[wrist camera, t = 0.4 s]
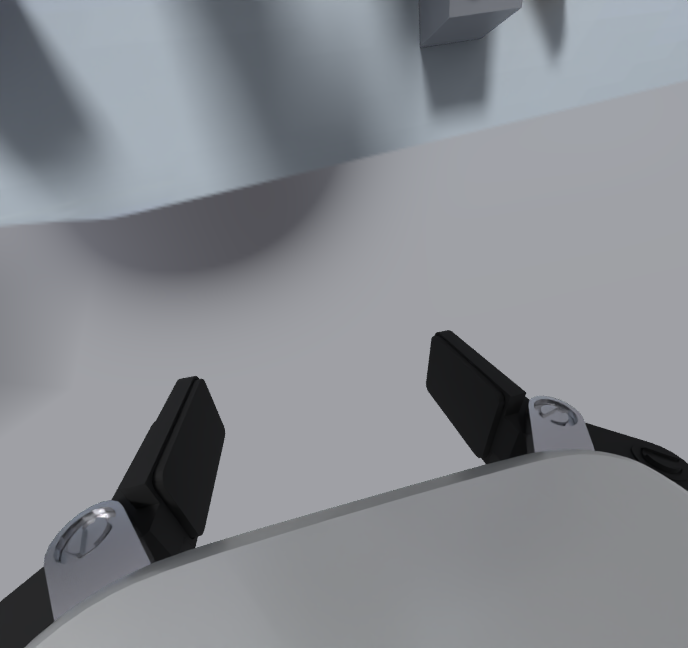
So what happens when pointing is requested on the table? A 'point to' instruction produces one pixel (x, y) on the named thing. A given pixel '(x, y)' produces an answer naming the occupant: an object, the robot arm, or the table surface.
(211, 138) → the table surface
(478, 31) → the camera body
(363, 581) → the robot arm
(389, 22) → the table surface
